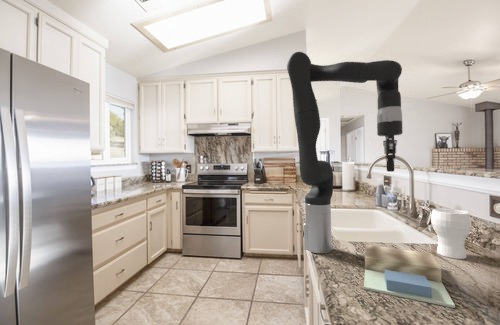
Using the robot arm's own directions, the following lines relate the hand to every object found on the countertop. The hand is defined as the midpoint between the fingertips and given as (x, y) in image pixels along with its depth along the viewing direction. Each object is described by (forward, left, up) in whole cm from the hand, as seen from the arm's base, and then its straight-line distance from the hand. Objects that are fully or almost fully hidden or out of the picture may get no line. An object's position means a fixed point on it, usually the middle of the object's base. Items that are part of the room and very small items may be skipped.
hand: (390, 171), depth 82 cm
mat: (+1, -23, -29) cm, 37 cm away
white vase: (+18, +9, -29) cm, 35 cm away
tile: (+2, -24, -27) cm, 37 cm away
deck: (+1, -11, -29) cm, 31 cm away
